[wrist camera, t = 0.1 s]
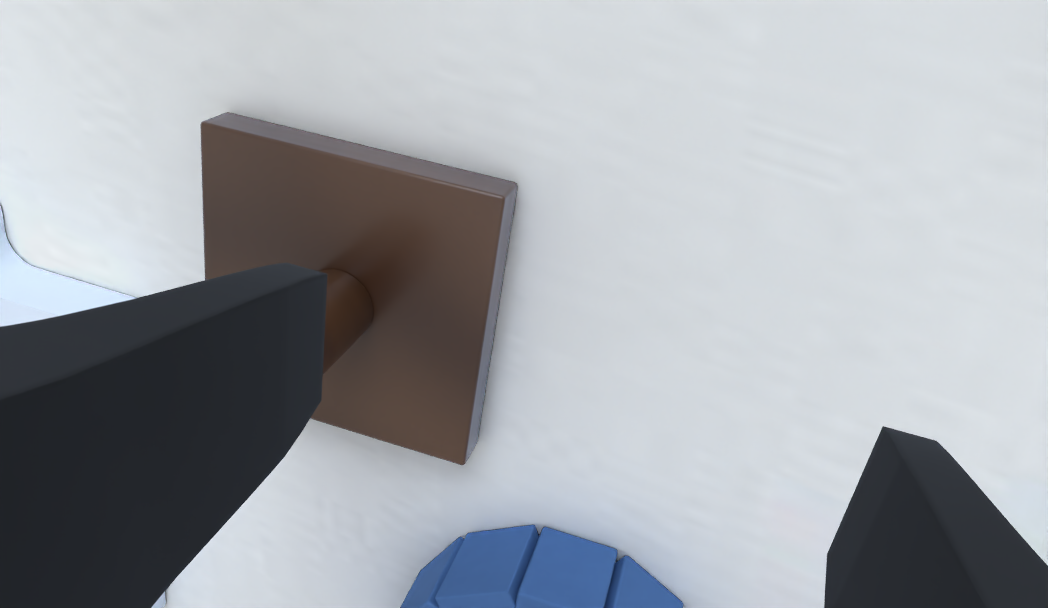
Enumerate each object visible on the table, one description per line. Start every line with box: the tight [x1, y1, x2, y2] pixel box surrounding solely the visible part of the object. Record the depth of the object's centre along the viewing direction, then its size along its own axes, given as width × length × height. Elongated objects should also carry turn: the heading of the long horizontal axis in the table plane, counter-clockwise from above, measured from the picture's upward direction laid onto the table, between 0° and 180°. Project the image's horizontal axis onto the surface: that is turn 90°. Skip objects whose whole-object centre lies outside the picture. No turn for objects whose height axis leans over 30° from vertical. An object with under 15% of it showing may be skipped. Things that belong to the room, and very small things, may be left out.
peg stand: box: [201, 112, 518, 465], centre depth 21 cm, size 8×8×6 cm
